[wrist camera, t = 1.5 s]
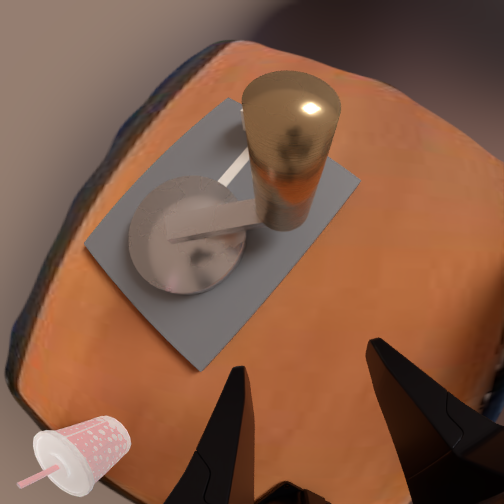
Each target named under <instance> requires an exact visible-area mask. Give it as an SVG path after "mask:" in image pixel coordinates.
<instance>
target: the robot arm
mask: <svg viewBox="0 0 504 504" xmlns="http://www.w3.org/2000/svg"><path fill="white" fill-rule="evenodd" d="M366 361H367V365H368V368H369V372H370V375H371V379H372V383H373V387H374V391H375V394H376V397H377V400H378V402H379V405H380V407H381V410H382V413H383V415H384V418H385V421H386V423H387V426H388V429H389V431H390V434H391V437H392V440H393V443H394V445H395V448H396V451H397V454H398V457H399V460H400V463H401V466H402V469H403V472H404V475H405V478H406V482H407V485H408V488H409V492H410V495H411V498H412V502H413V504H504V426H502V425H499V424H496V423H495V422H493V421H491V420H490V419H488V418H486V417H485V416H483V415H481V414H480V413H478V412H476V411H475V410H473V409H472V408H470V407H469V406H467V405H466V404H464V403H463V402H461V401H460V400H459V399H457V398H456V397H455V396H454V395H452V394H451V393H450V392H447V390H446V389H445V388H443V387H442V386H441V385H440V384H438V383H437V382H436V381H435V380H433V379H432V378H431V377H430V376H428V375H427V374H426V373H425V372H423V371H422V370H421V369H419V368H418V367H417V366H416V365H414V364H413V363H412V362H411V361H409V360H408V359H407V358H406V357H404V356H403V355H402V354H400V353H399V352H398V351H397V350H395V349H394V348H393V347H392V346H390V345H389V344H388V343H386V342H385V341H384V340H383V339H381V338H374V339H371V340H369V341H368V345H367V350H366ZM254 433H255V424H254V412H253V404H252V396H251V388H250V381H249V377H248V374H247V371H246V368H245V366H236V367H233V368H232V370H231V372H230V374H229V377H228V379H227V381H226V384H225V386H224V388H223V390H222V393H221V395H220V397H219V399H218V402H217V404H216V406H215V408H214V411H213V413H212V415H211V417H210V420H209V422H208V424H207V426H206V428H205V431H204V433H203V435H202V437H201V439H200V441H199V444H198V446H197V448H196V450H197V451H195V452H194V454H193V456H192V458H191V460H190V462H189V464H188V466H187V468H186V470H185V472H184V473H183V475H182V477H181V478H180V480H179V481H178V483H177V485H176V486H175V487H174V489H173V490H172V492H171V493H170V495H169V496H168V498H167V499H166V500H165V502H164V503H163V504H331V503H330V502H327V501H325V499H324V498H323V497H321V496H319V495H317V494H315V493H313V492H311V491H309V490H307V489H302V488H300V487H298V486H296V485H294V484H293V483H291V482H289V481H286V482H283V483H282V484H280V485H279V486H278V487H276V488H275V489H274V490H272V491H271V492H270V493H268V494H267V495H266V496H264V497H263V498H262V499H260V500H259V501H257V502H256V503H254ZM286 485H288V487H284V486H286Z"/></svg>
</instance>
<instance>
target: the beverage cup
mask: <svg viewBox="0 0 504 504" xmlns="http://www.w3.org/2000/svg"><path fill="white" fill-rule="evenodd" d="M130 446H131V440H130V436H129V434H128V432H127V430H126V429H125V428H124V426H123V425H122V424H121V423H120V422H119V421H117V420H116V419H114V418H112V417H109V416H100V417H97V418H94V419H91V420H88V421H85V422H82V423H79V424H75V425H72V426H69V427H66V428H62V429H59V430H55V431H53V430H45V431H41V432H39V433H37V434H36V435H35V436H34V441H33V448H34V452H35V456H36V458H37V460H38V462H39V464H40V466H41V468H42V470H43V471H41V472H39V473H37V474H35V475H33V476H31V477H29V478H27V479H24V480H22V481H20V482H18V483H17V486H18V487H19V488H20V489H21V488H23V487H26V486H28V485H30V484H31V483H34V482H36V481H38V480H40V479H42V478H44V477H46V476H48V477H49V479H50V480H51V481H52V482H54V484H56V485H57V486H58V487H59V488H60V489H61V490H63V491H65V492H67V493H68V494H70V495H73V496H78V497H82V496H85V495H87V494H89V492H90V491H92V489H93V486H94V484H95V483H96V482H97V481H98V480H99V479H100V478H101V477H102V476H103V475H104V474H105V473H106V472H108V471H109V470H110V469H111V468H112V467H113V466H114V465H115V464H116V463H117V462H118V461H119V460H120V459H121V458H122V457H123V456H124V455H125V454H126V453H127V452H128V451H129V449H130Z"/></svg>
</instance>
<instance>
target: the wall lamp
mask: <svg viewBox="0 0 504 504" xmlns="http://www.w3.org/2000/svg"><path fill="white" fill-rule="evenodd" d="M242 108H243V115H244V123H245V130H246V137H247V145H248V152H249V159H250V167H251V174H252V182H253V190H254V197H255V198H254V199H249V200H243V201H238V200H237V199H236V197H235V196H234V195H233V193H232V192H231V191H230V190H229V189H228V188H227V187H225V186H224V185H223V184H221V183H219V182H218V181H216V180H213V179H211V178H208V177H203V176H194V175H193V176H182V177H178V178H174V179H171V180H169V181H166V182H164V183H163V184H161V185H159V186H158V187H156V188H155V189H154V190H152V191H151V192H150V193H149V194H148V195H147V196H146V197H145V198H144V199H143V200H142V202H141V203H140V205H139V206H138V208H137V210H136V211H135V213H134V216H133V218H132V221H131V224H130V229H129V237H128V244H129V251H130V256H131V259H132V261H133V264H134V266H135V267H136V269H137V271H138V272H139V273H140V275H141V276H142V277H143V278H144V279H145V280H146V281H148V282H149V283H150V284H151V285H153V286H155V287H157V288H159V289H162V290H164V291H167V292H170V293H174V294H179V295H194V294H199V293H203V292H206V291H209V290H211V289H213V288H215V287H217V286H218V285H219V284H221V283H222V282H224V281H225V280H226V279H227V278H228V277H229V276H230V275H231V274H232V273H233V271H234V270H235V269H236V267H237V266H238V264H239V262H240V260H241V258H242V256H243V253H244V250H245V246H246V239H247V230H253V229H259V228H264V227H268V228H270V229H272V230H275V231H280V232H286V231H292V230H294V229H296V228H298V227H300V226H301V225H302V224H303V223H304V222H305V221H306V219H307V217H308V215H309V212H310V209H311V206H312V203H313V200H314V197H315V194H316V191H317V188H318V184H319V181H320V178H321V175H322V172H323V169H324V166H325V163H326V159H327V156H328V153H329V150H330V146H331V143H332V140H333V137H334V133H335V130H336V127H337V123H338V120H339V116H340V113H341V103H340V99H339V97H338V95H337V94H336V92H335V91H334V90H333V88H332V87H331V86H329V85H328V84H327V83H326V82H324V81H323V80H321V79H319V78H317V77H315V76H313V75H310V74H307V73H303V72H298V71H276V72H271V73H268V74H265V75H262V76H260V77H258V78H256V79H255V80H253V81H252V82H251V83H250V84H249V85H248V86H247V87H246V89H245V90H244V92H243V95H242Z"/></svg>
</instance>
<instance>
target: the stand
mask: <svg viewBox="0 0 504 504" xmlns="http://www.w3.org/2000/svg"><path fill="white" fill-rule="evenodd" d="M193 175H194V176H203V177H208V178H211V179H213V180H216V181H218V182H219V183H221V184H223V185H224V186H225V187H227V188H228V189H229V190H230V191H231V192H232V193H233V195H234V196H235V197H236V199H237V200H238V201H243V200H249V199H254V198H255V197H254V190H253V182H252V174H251V167H250V159H249V152H248V145H247V137H246V130H245V123H244V115H243V108H242V104H240V103H238V102H236V101H234V100H232V99H230V98H227V99H226V100H224V101H223V102H222V103H221V104H219V105H218V106H217V107H216V108H214V109H213V110H212V111H211V112H209V113H208V114H207V115H206V116H205V117H204V118H202V119H201V120H200V121H199V122H198V123H197V124H195V125H194V126H193V127H192V128H191V129H190V130H189V131H187V132H186V133H185V134H184V135H183V136H182V137H181V138H180V139H179V140H178V141H176V142H175V143H174V144H173V145H172V146H171V147H170V148H169V149H168V150H167V151H166V152H165V153H164V154H163V155H162V156H161V157H160V158H159V159H158V160H157V161H156V162H155V163H154V164H153V165H152V166H151V167H150V168H149V169H148V170H147V171H146V172H145V173H144V174H143V175H142V176H141V177H140V178H139V179H138V180H137V181H136V182H135V183H134V184H133V185H132V187H131V188H130V189H129V190H128V191H127V192H126V193H125V194H124V195H123V196H122V198H121V199H120V200H119V201H118V202H117V203H116V204H115V206H114V207H113V208H112V209H111V210H110V211H109V213H108V214H107V215H106V216H105V217H104V219H103V220H102V221H101V222H100V223H99V225H98V226H97V227H96V228H95V230H94V231H93V232H92V233H91V235H90V236H89V237H88V239H87V240H86V241H85V242H84V245H85V246H86V247H87V249H88V250H89V251H90V253H91V254H92V255H93V256H94V258H95V259H96V260H97V262H98V263H99V264H100V265H101V267H102V268H103V269H104V270H105V272H106V273H107V274H108V275H109V277H110V278H111V279H112V280H113V281H114V283H115V284H116V285H117V286H118V287H119V289H120V290H121V291H122V292H123V293H124V294H125V296H126V297H127V298H128V299H129V300H130V301H131V302H132V303H133V305H134V306H135V307H136V308H137V309H138V310H139V311H140V312H141V313H142V314H143V316H144V317H145V318H146V319H147V320H148V321H149V322H150V323H151V324H152V325H153V326H154V327H155V328H156V329H157V330H158V331H159V332H160V333H161V334H162V335H163V336H164V337H165V338H166V339H167V340H168V341H169V342H170V343H171V344H172V345H173V346H174V347H175V348H176V349H177V350H178V351H179V352H180V353H181V354H182V355H183V356H184V357H185V358H186V359H187V360H188V361H189V362H190V363H191V364H193V365H194V366H195V367H196V368H197V369H198V370H199V371H200V372H201V371H203V370H204V369H205V368H206V367H207V366H208V365H209V364H210V362H211V361H212V360H213V359H214V358H215V357H216V356H217V355H218V354H219V353H220V352H221V350H222V349H223V348H224V347H225V346H226V345H227V344H228V343H229V342H230V340H231V339H232V338H233V337H234V336H235V335H236V334H237V333H238V331H239V330H240V329H241V328H242V327H243V326H244V325H245V323H246V322H247V321H248V320H249V319H250V318H251V317H252V315H253V314H254V313H255V312H256V311H257V310H258V309H259V307H260V306H261V305H262V304H263V303H264V302H265V300H266V299H267V298H268V297H269V296H270V295H271V293H272V292H273V291H274V290H275V289H276V287H277V286H278V285H279V284H280V283H281V282H282V280H283V279H284V278H285V277H286V276H287V274H288V273H289V272H290V271H291V270H292V268H293V267H294V266H295V265H296V264H297V262H298V261H299V260H300V259H301V257H302V256H303V255H304V254H305V253H306V251H307V250H308V249H309V248H310V246H311V245H312V244H313V243H314V241H315V240H316V239H317V238H318V236H319V235H320V234H321V233H322V231H323V230H324V229H325V228H326V226H327V225H328V224H329V223H330V221H331V220H332V219H333V217H334V216H335V215H336V214H337V212H338V211H339V210H340V209H341V207H342V206H343V205H344V203H345V202H346V201H347V199H348V198H349V197H350V196H351V194H352V193H353V192H354V190H355V189H356V188H357V186H358V185H359V183H360V182H361V180H360V179H359V178H357V177H356V176H355V175H353V174H352V173H351V172H349V171H348V170H346V169H345V168H344V167H342V166H341V165H339V164H338V163H337V162H335V161H334V160H332V159H331V158H329V157H328V156H327V159H326V163H325V166H324V169H323V172H322V175H321V178H320V181H319V184H318V188H317V191H316V194H315V197H314V200H313V203H312V206H311V209H310V212H309V215H308V217H307V219H306V221H305V222H304V223H303V224H302V225H301V226H300V227H298V228H296V229H294V230H292V231H286V232H280V231H275V230H272V229H270V228H268V227H264V228H259V229H253V230H247V239H246V246H245V250H244V253H243V256H242V258H241V260H240V262H239V264H238V266H237V267H236V269H235V270H234V271H233V273H232V274H231V275H230V276H229V277H228V278H227V279H226V280H225V281H224V282H222V283H221V284H219V285H218V286H217V287H215V288H213V289H211V290H209V291H206V292H203V293H199V294H194V295H179V294H174V293H170V292H167V291H164V290H162V289H159V288H157V287H155V286H153V285H151V284H150V283H149V282H148V281H146V280H145V279H144V278H143V277H142V276H141V275H140V273H139V272H138V271H137V269H136V267H135V266H134V264H133V261H132V259H131V256H130V251H129V244H128V237H129V229H130V224H131V221H132V218H133V216H134V213H135V211H136V210H137V208H138V206H139V205H140V203H141V202H142V200H143V199H144V198H145V197H146V196H147V195H148V194H149V193H150V192H151V191H152V190H154V189H155V188H156V187H158V186H159V185H161V184H163V183H164V182H166V181H169V180H171V179H174V178H178V177H182V176H193Z"/></svg>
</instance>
